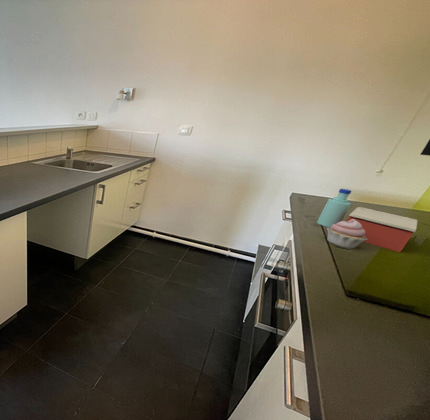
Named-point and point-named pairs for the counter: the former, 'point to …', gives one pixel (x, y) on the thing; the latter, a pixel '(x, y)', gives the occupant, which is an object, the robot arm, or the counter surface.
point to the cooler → (384, 234)
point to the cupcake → (346, 234)
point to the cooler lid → (385, 218)
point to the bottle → (335, 209)
